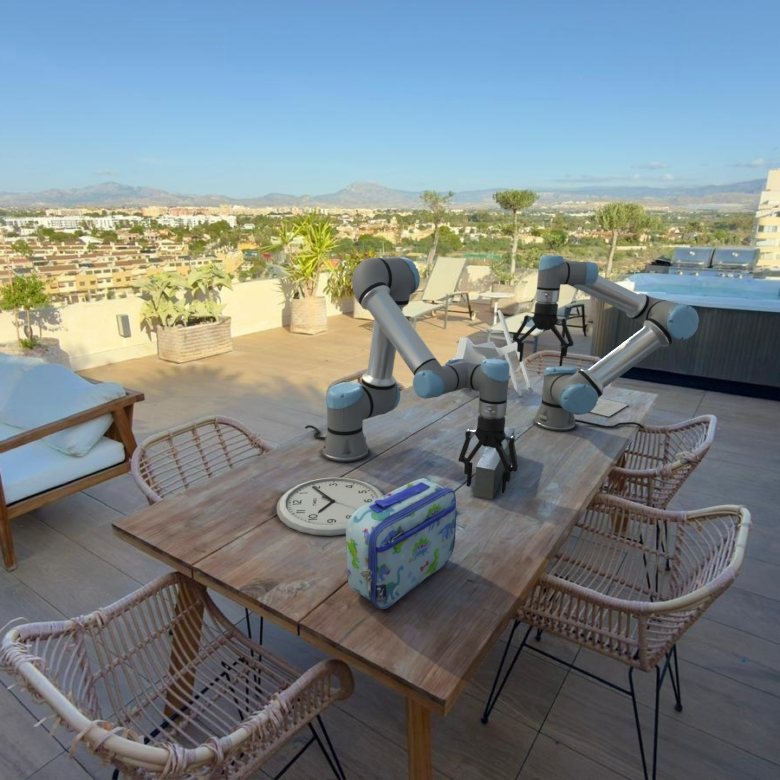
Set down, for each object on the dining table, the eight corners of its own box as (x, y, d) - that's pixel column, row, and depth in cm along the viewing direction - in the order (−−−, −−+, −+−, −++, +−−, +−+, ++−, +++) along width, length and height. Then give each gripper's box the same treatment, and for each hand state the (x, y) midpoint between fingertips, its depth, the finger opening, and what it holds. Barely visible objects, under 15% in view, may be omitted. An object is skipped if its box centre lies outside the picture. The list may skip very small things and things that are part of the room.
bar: (496, 451, 180) (498, 425, 177) (512, 453, 178) (514, 428, 175) (473, 496, 149) (475, 466, 146) (492, 499, 147) (494, 470, 144)
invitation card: (608, 416, 214) (573, 407, 224) (608, 416, 214) (573, 408, 224) (628, 404, 229) (594, 396, 238) (628, 405, 229) (594, 397, 238)
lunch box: (375, 622, 100) (376, 527, 94) (339, 595, 108) (338, 505, 101) (459, 565, 118) (465, 481, 112) (424, 545, 125) (427, 465, 119)
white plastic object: (466, 425, 257) (443, 402, 232) (448, 350, 279) (426, 321, 254) (539, 401, 244) (523, 374, 220) (514, 324, 267) (497, 292, 242)
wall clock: (392, 527, 129) (268, 531, 127) (391, 533, 130) (269, 537, 127) (383, 473, 158) (282, 475, 155) (383, 478, 158) (282, 480, 156)
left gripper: (449, 413, 145) (445, 486, 152) (530, 425, 137) (522, 501, 144) (456, 405, 152) (452, 475, 159) (534, 416, 144) (526, 489, 151)
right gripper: (507, 301, 178) (502, 361, 184) (585, 306, 169) (577, 369, 175) (511, 298, 184) (506, 357, 191) (586, 303, 176) (578, 364, 182)
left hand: (486, 487), depth 151 cm, fingers open, 9 cm apart
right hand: (540, 363), depth 183 cm, fingers open, 13 cm apart
